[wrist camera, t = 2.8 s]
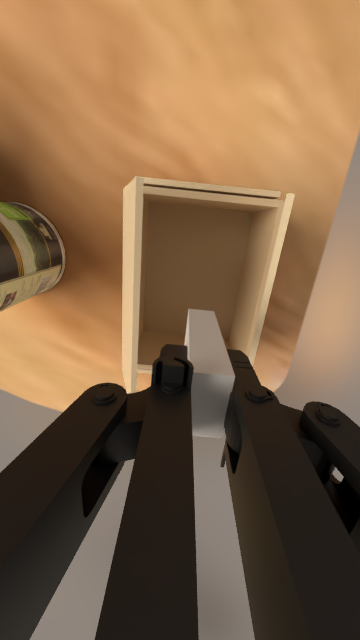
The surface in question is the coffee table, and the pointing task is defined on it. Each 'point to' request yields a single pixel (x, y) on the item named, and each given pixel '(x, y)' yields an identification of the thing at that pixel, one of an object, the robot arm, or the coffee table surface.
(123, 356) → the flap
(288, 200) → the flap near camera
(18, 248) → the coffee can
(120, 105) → the coffee table surface
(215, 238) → the carton
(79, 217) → the coffee table surface
